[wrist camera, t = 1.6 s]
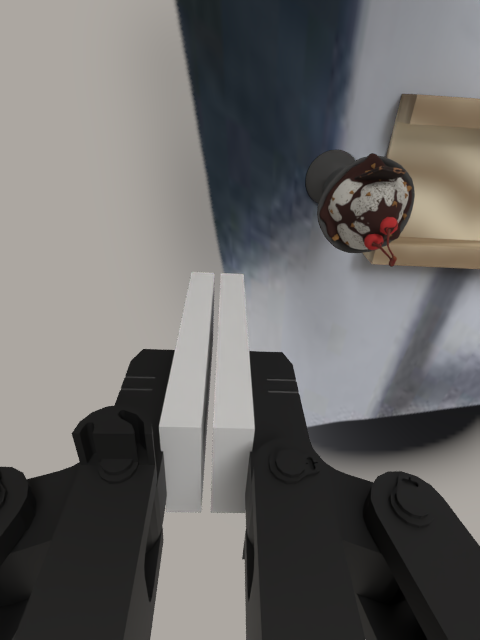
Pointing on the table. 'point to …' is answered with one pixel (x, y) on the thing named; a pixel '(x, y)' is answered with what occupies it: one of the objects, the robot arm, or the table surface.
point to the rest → (438, 182)
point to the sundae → (360, 200)
